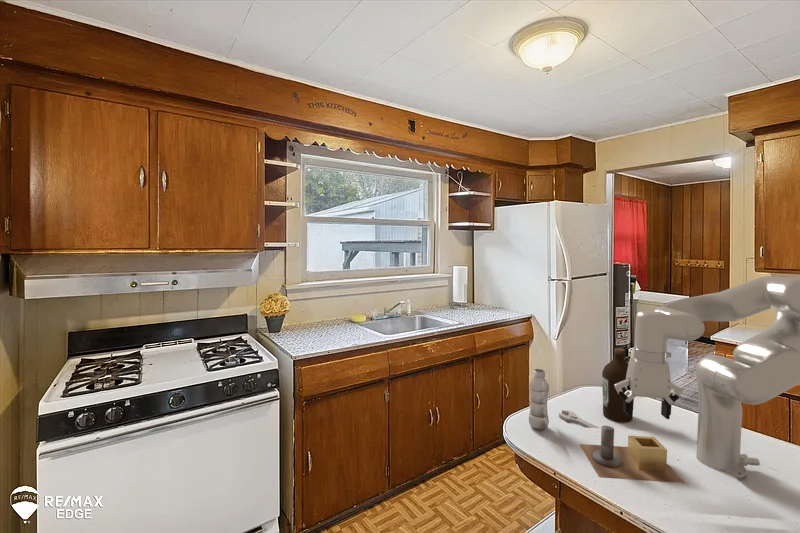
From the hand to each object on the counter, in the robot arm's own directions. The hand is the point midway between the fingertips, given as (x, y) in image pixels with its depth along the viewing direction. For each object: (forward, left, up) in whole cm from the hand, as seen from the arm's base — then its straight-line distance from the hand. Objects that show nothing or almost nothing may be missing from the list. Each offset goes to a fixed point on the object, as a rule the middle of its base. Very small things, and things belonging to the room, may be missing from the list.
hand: (646, 415), depth 110 cm
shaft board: (+5, 0, -15) cm, 16 cm away
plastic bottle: (+25, -21, -15) cm, 36 cm away
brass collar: (0, 0, -14) cm, 14 cm away
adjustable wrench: (+8, -23, -16) cm, 29 cm away
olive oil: (-5, -33, -15) cm, 37 cm away
